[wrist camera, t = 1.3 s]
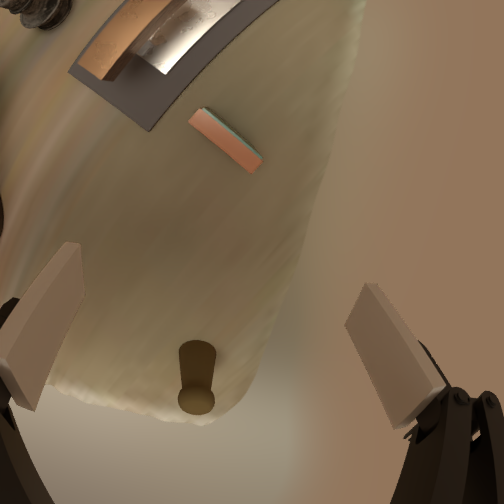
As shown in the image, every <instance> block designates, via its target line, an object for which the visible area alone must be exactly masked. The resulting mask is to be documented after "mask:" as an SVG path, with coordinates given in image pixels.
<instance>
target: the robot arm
mask: <svg viewBox="0 0 504 504" xmlns="http://www.w3.org/2000/svg"><path fill="white" fill-rule="evenodd" d="M2 227H3V209H2V203H1V198H0V236H1V232H2ZM84 297H85V287H84V278H83V268H82V255H81V244H80V243H74V242H68V241H66V242H65V243H64V244H63V245H62V246H61V247H60V249H59V250H58V251H57V252H56V253H55V255H54V256H53V257H52V258H51V260H50V261H49V262H48V263H47V265H46V266H45V267H44V268H43V270H42V271H41V272H40V273H39V275H38V276H37V277H36V279H35V280H34V281H33V283H32V284H31V285H30V287H29V288H28V289H27V291H26V292H25V293H24V295H23V296H22V298H21V299H18V298H14V297H13V298H12V299H10V300H9V301H8V302H6V303H5V304H3V306H2V307H1V309H0V504H55V503H54V502H53V500H52V498H51V497H50V495H49V493H48V491H47V490H46V488H45V486H44V484H43V482H42V480H41V478H40V477H39V475H38V473H37V471H36V469H35V467H34V464H33V462H32V460H31V458H30V456H29V454H28V451H27V449H26V447H25V444H24V442H23V440H22V437H21V435H20V432H19V430H18V427H17V424H16V422H15V419H14V416H13V413H12V410H11V408H10V406H9V404H8V403H9V400H10V398H11V396H12V398H13V399H14V401H15V403H16V404H17V405H18V406H21V407H23V408H26V409H28V410H31V411H34V412H35V410H36V407H37V404H38V401H39V398H40V395H41V393H42V390H43V387H44V385H45V382H46V380H47V377H48V375H49V372H50V370H51V367H52V365H53V363H54V360H55V358H56V356H57V353H58V351H59V349H60V346H61V344H62V342H63V340H64V338H65V335H66V333H67V331H68V329H69V327H70V325H71V323H72V321H73V319H74V317H75V315H76V313H77V311H78V309H79V307H80V305H81V303H82V301H83V299H84ZM345 327H346V329H347V331H348V333H349V335H350V337H351V339H352V341H353V343H354V345H355V347H356V349H357V352H358V354H359V356H360V357H361V359H362V362H363V364H364V366H365V368H366V370H367V372H368V374H369V376H370V379H371V381H372V383H373V385H374V387H375V389H376V391H377V394H378V396H379V398H380V400H381V402H382V404H383V407H384V409H385V411H386V413H387V415H388V418H389V420H390V422H391V425H392V427H393V429H399V428H403V427H406V426H408V425H409V424H410V423H411V422H412V421H413V420H414V419H415V418H416V420H417V422H418V424H416V425H415V426H414V427H413V428H412V429H411V430H410V431H409V432H408V433H407V434H406V435H405V436H404V439H406V438H407V437H408V436H409V435H411V434H412V436H411V438H410V439H409V440H408V441H410V444H409V448H408V452H407V455H406V458H405V462H404V465H403V468H402V471H401V474H400V477H399V480H398V483H397V486H396V489H395V492H394V494H393V497H392V500H391V502H390V504H504V416H503V412H502V409H501V405H500V402H499V400H498V398H497V397H496V395H495V394H493V393H492V392H490V391H484V392H483V393H482V394H481V395H480V396H479V397H478V398H470V397H469V395H468V394H467V393H466V391H465V390H463V389H462V388H459V387H453V388H452V387H451V385H450V384H449V383H448V380H447V379H446V377H445V376H444V374H443V373H442V371H441V370H440V368H439V366H438V365H437V364H436V362H435V360H434V359H433V358H432V357H431V354H430V353H429V351H428V350H427V348H426V347H425V346H424V345H423V344H422V343H421V342H420V341H419V340H417V339H416V337H415V336H414V334H413V333H412V332H411V330H410V329H409V327H408V326H407V324H406V323H405V321H404V320H403V319H402V317H401V316H400V314H399V313H398V311H397V310H396V309H395V307H394V306H393V304H392V303H391V302H390V300H389V299H388V298H387V296H386V295H385V294H384V292H383V291H382V289H381V288H380V287H379V286H378V284H373V283H365V284H364V286H363V288H362V290H361V292H360V295H359V297H358V299H357V301H356V303H355V305H354V307H353V309H352V311H351V313H350V315H349V317H348V319H347V321H346V323H345ZM478 430H480V434H481V435H480V436H479V437H478V438H477V439H475V440H474V441H473V440H472V436H473V435H474V434H475V433H476V432H478Z"/></svg>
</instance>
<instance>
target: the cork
mask: <svg viewBox="0 0 504 504" xmlns="http://www.w3.org/2000/svg"><path fill="white" fill-rule="evenodd" d="M215 359H216V350H215V348H214V347H213V346H212V345H211V344H209V343H207V342H204V341H200V340H192V341H188V342H186V343H184V344H182V346H181V347H180V349H179V360H180V371H181V382H182V389H181V390H180V392H179V395H178V403H179V406H180V408H181V409H182V410H183V411H185V412H186V413H189V414H193V415H202V414H206V413H208V412H210V411H211V410H212V409H213V407H214V404H215V398H214V394H213V392H212V391H211V386H212V379H213V372H214V365H215Z"/></svg>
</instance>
